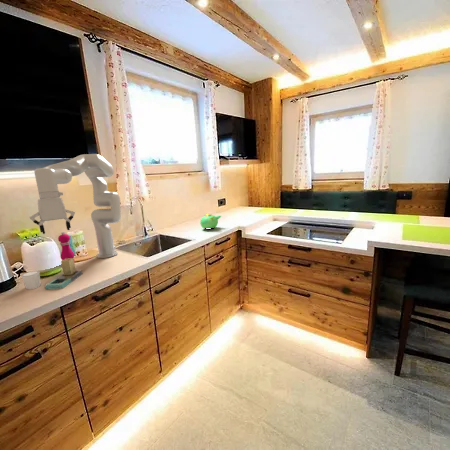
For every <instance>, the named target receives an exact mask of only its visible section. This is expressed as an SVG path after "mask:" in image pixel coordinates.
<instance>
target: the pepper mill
mask: <svg viewBox="0 0 450 450" xmlns="http://www.w3.org/2000/svg"><path fill="white" fill-rule="evenodd" d="M57 239H58V241H59V244H60V246H61V253H60V259H61V261H62V260H64V259H66V258H74V263H75V261H76V260H75V252H74V251H73V250H72V248H71V246H70V244H71V242H70V240H71V237H70V235H69V234H67V233H65V231H62V232H61V234H60V235H58V238H57Z"/></svg>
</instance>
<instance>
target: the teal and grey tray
mask: <svg viewBox="0 0 450 450" xmlns="http://www.w3.org/2000/svg"><path fill="white" fill-rule="evenodd" d="M81 275H83V270H80V269H79V270H76V273H75V274H74V275H72V276H64V274H63V273H62V274H61V275H58V276H57V277H56V278H54V279H53V280H51V281H50V282H48V283H47V284H45V285H44V288H45V290H59V289H64V288H65V287H67V286H68V285H70V284H71V283H72V282H73V281H75V280H76V279H78V278H79V277H80V276H81Z"/></svg>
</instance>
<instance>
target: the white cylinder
mask: <svg viewBox="0 0 450 450" xmlns="http://www.w3.org/2000/svg"><path fill="white" fill-rule="evenodd" d="M40 274H41V273H40V271H39V270H32V271H27V272H25V273H23V274H21V278H22V281H23V283H24V286H25V289H26V290H33V289H36V288H39V287H40V286H41V284H42V283H41V275H40Z"/></svg>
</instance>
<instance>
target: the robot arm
mask: <svg viewBox="0 0 450 450" xmlns="http://www.w3.org/2000/svg"><path fill="white" fill-rule="evenodd" d="M114 172H115V171H114V167H113V165H112V164H111V163H110V162H109V161H108V160H106V159H105V157H103V156H101V155H100V154H97V153H89V154H87V153H86V154H85V153H84V154H80V155H77V156H76V157H73V158H71V159H68V160H64V161H61V162H58V163H54V164H49V165H47V166H44V167H42V168H36V169H35V170H34V177H35V181H36V182H35V183H36V187H37V191H38V196H39V199H37V210H38V212H36V213H34V214H33V215H31V216H29V219H30V220H31V221H32V222H33V223H34V224H36V225H38V226H39V231H40V233H42V234H43V235H45V234H46V231H45V226H44V223H45V222H48V221H57V220H63V219H64V220H65V226H66V230H67V231H70V229H72V227H71V221H72V219H73V218H74V216H75V214H76V211H75V212H74V211H72V210H69V209H66V207H65V204H64V200H63V199H62V197H61V196H63V195H64V193H63V192H61V191H59V186H58V185H66V184H69V183H70V182H71V181H72V179H73V177H76V176H79V175H82V174H83V173H84V174H85V175H86V177H87V178H88V179H89V180H90V183H91V184H92V194H93V196H92V198H93V204H94V206H96V207H99V208H97V209H94V210H93V211H92V212H91V213H90V214H91V215H90V217H91V218H90V219H91V220H92V223H93V226H94V231H95V236H96V243H97V248H98V253H97V254H96V258H98V259H106V258H112V257H115V256H116V255H117V254H118V251H117V250H115V249H116V248H117V246H116V245H115V244H114V243H115V242H114V238H113V237H114V236H113V230H112V227H111V226H110V224H116V223H119V222H120V221H121V218H122V217H121V216H122V213H121V211H122V210H121V207H122V206H121V197H120V195H119V193H117V192H115V191H109V189H108V188H109V187H108V183H107V182H106V180H105V179H104V178H110V177H113V175H114ZM100 207H101V208H100ZM102 207H103V208H102ZM104 207H105V208H104ZM107 207H108V208H107ZM109 207H110V208H109ZM67 213H68V214H69V215H70V216H69V217H67ZM37 217H39V219H40V220H39V221H38V220H37V219H36V218H37Z"/></svg>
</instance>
